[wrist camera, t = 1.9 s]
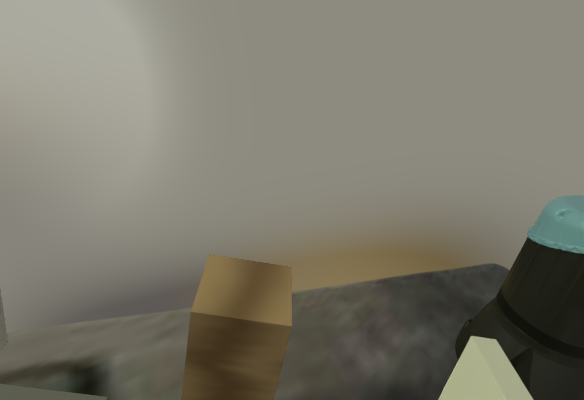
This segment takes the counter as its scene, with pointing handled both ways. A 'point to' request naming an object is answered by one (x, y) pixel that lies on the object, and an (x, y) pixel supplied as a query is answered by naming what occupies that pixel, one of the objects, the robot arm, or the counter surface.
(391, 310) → the counter surface
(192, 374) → the walnut peg
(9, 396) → the socket board
